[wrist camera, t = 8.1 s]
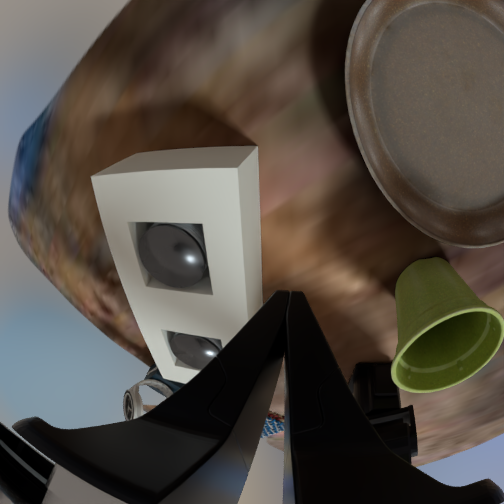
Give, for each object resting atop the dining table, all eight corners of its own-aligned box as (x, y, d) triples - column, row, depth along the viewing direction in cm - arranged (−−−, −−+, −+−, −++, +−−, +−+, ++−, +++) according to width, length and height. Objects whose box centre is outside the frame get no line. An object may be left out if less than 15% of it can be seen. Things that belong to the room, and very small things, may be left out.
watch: (153, 347, 35) (118, 413, 26) (200, 378, 37) (175, 444, 28) (139, 359, 38) (108, 418, 29) (182, 387, 40) (159, 446, 31)
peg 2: (238, 330, 29) (224, 373, 24) (195, 324, 30) (176, 364, 25) (234, 296, 26) (217, 341, 22) (186, 290, 27) (164, 331, 23)
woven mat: (297, 418, 40) (296, 428, 38) (261, 431, 46) (259, 440, 44) (244, 395, 38) (241, 407, 37) (213, 412, 44) (210, 421, 42)
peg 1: (229, 248, 24) (208, 291, 19) (177, 245, 24) (147, 283, 20) (224, 194, 21) (198, 228, 16) (167, 194, 22) (131, 225, 17)
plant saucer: (392, -60, 7) (402, -77, 5) (566, 97, 8) (587, 103, 6) (291, 149, 19) (288, 159, 16) (482, 263, 20) (496, 285, 17)
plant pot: (356, 296, 24) (364, 376, 17) (424, 217, 19) (469, 286, 12) (419, 331, 25) (436, 400, 18) (482, 269, 20) (520, 334, 13)
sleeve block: (263, 351, 31) (253, 396, 26) (181, 339, 32) (163, 378, 28) (257, 145, 19) (237, 167, 14) (136, 152, 21) (90, 176, 16)
